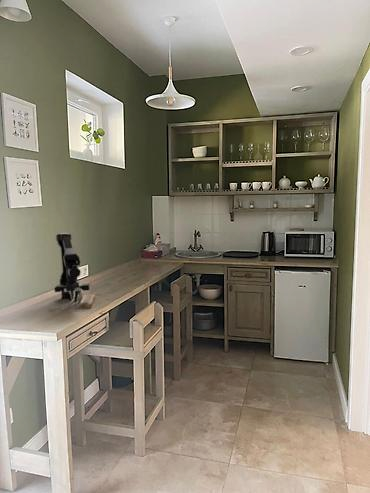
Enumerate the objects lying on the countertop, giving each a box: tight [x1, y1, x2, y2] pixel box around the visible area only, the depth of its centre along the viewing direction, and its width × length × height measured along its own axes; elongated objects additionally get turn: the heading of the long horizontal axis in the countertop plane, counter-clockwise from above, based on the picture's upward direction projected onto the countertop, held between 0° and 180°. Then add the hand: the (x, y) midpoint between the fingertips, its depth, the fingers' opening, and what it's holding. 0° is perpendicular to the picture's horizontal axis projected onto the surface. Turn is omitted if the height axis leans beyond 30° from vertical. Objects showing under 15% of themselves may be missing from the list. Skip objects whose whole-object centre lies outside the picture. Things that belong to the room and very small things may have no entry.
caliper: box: [61, 291, 83, 311], centre depth 214 cm, size 20×1×6 cm, turn 165°
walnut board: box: [78, 294, 96, 309], centre depth 220 cm, size 6×24×2 cm, turn 8°
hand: (73, 302), depth 215 cm, fingers closed on caliper, 2 cm apart
